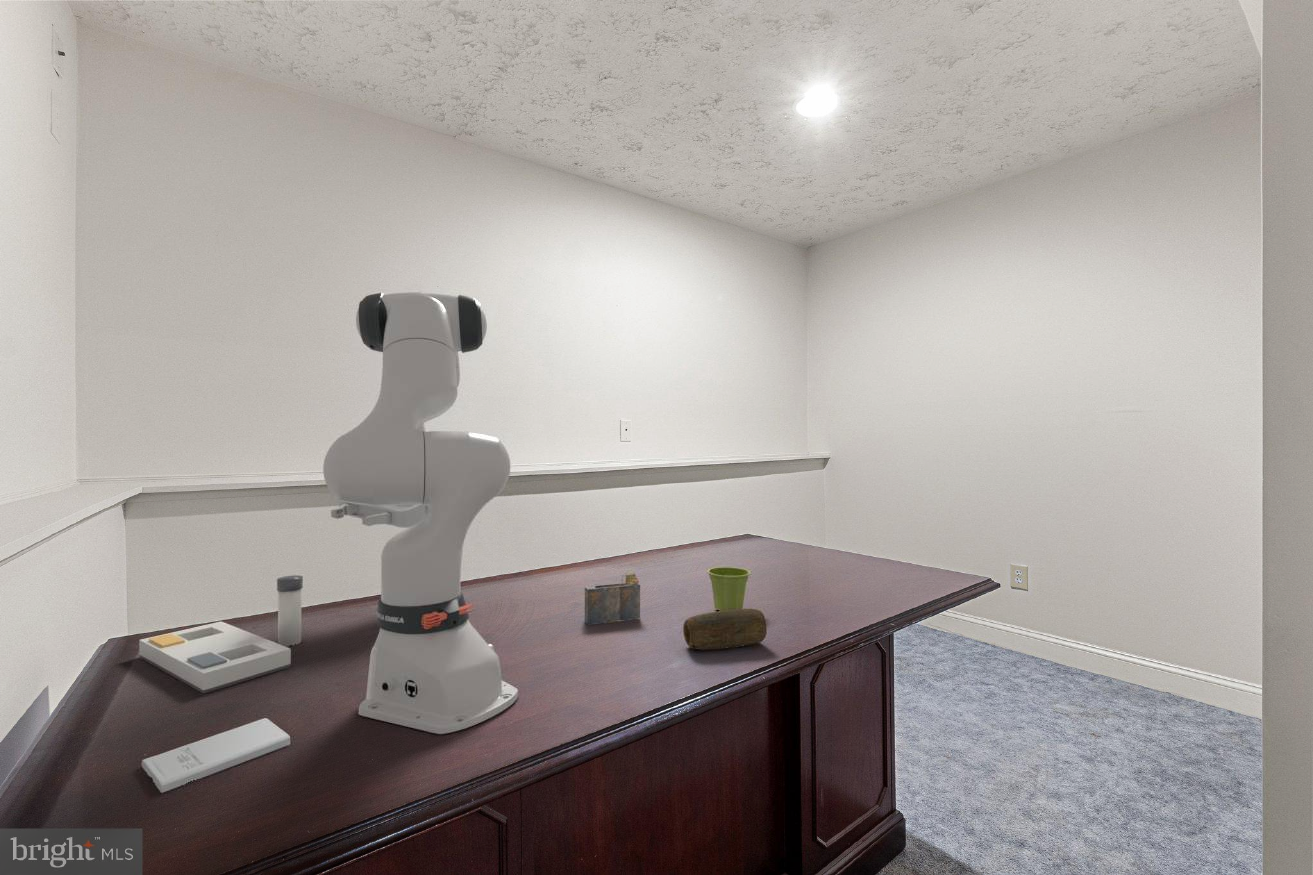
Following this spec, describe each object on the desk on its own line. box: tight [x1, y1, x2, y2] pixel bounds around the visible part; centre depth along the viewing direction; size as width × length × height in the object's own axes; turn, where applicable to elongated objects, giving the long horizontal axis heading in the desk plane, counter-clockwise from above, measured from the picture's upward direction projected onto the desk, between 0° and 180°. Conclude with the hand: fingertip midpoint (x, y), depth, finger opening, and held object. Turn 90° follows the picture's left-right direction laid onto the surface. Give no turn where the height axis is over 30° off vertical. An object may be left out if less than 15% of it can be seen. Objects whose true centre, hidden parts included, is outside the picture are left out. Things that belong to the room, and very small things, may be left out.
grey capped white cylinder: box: [276, 574, 304, 647], centre depth 106 cm, size 4×4×12 cm
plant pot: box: [707, 566, 751, 612], centre depth 129 cm, size 9×9×9 cm
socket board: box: [138, 621, 292, 694], centre depth 97 cm, size 26×12×3 cm, turn 58°
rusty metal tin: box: [584, 571, 641, 625], centre depth 121 cm, size 11×3×10 cm, turn 111°
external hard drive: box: [141, 717, 291, 793], centre depth 69 cm, size 2×8×12 cm
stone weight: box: [682, 608, 768, 651], centre depth 106 cm, size 15×7×7 cm, turn 110°
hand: (348, 518), depth 116 cm, fingers open, 8 cm apart
